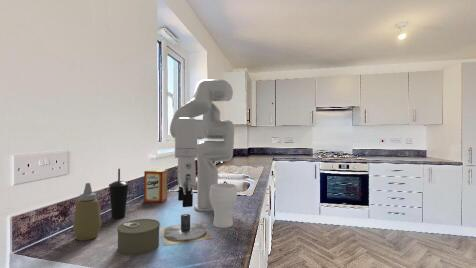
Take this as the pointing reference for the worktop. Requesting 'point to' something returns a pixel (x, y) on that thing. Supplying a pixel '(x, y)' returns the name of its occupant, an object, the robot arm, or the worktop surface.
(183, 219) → the lid
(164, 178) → the baking soda box
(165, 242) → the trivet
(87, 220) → the squeeze bottle
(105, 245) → the worktop surface
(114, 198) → the drinking cup
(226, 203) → the cup
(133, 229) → the can
